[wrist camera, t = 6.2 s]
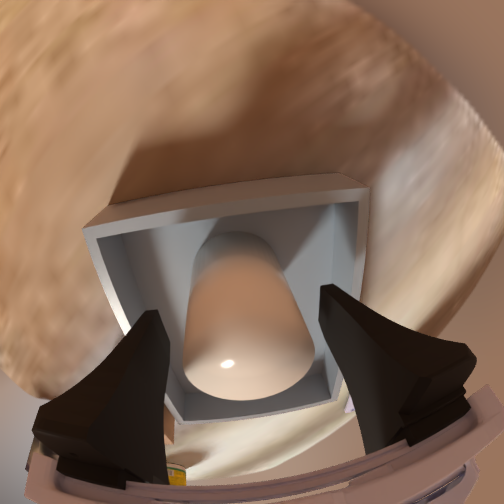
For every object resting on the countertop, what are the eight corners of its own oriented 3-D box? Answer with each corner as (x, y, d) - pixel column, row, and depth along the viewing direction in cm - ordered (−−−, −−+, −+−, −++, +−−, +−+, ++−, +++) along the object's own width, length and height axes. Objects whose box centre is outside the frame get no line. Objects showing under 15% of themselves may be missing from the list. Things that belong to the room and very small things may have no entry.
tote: (339, 172, 14) (370, 187, 11) (325, 370, 22) (337, 400, 19) (107, 205, 13) (81, 228, 10) (180, 392, 21) (179, 424, 18)
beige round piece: (279, 228, 15) (324, 307, 9) (276, 302, 17) (306, 391, 11) (187, 234, 14) (169, 321, 8) (197, 308, 17) (194, 403, 10)
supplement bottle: (165, 460, 30) (165, 512, 21) (192, 468, 32) (195, 517, 24) (147, 464, 31) (146, 512, 23) (173, 472, 33) (174, 517, 25)
